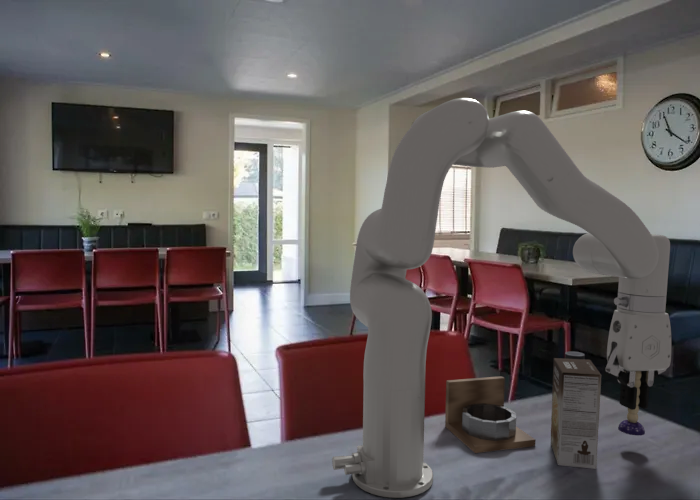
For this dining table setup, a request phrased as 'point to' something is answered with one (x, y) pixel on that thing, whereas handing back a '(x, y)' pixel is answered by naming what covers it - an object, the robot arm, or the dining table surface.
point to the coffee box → (575, 412)
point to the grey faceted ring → (489, 422)
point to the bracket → (476, 393)
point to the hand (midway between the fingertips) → (633, 405)
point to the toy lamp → (633, 414)
